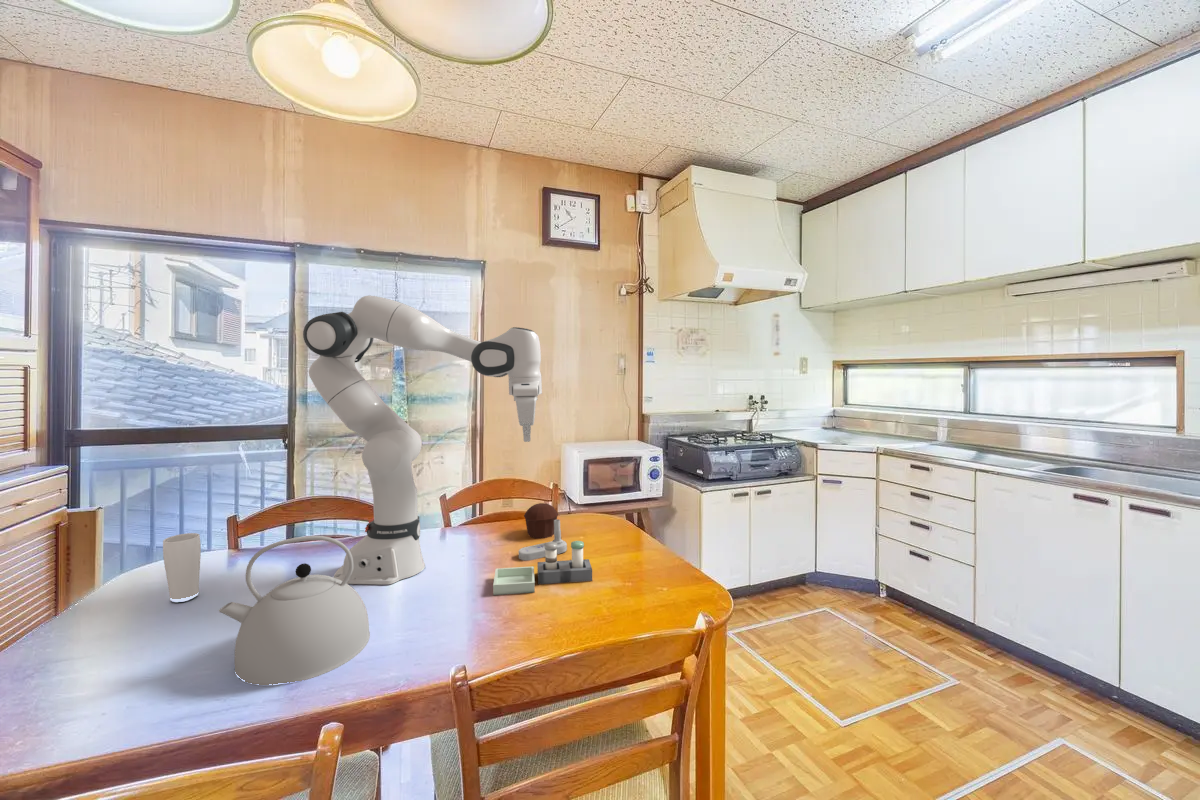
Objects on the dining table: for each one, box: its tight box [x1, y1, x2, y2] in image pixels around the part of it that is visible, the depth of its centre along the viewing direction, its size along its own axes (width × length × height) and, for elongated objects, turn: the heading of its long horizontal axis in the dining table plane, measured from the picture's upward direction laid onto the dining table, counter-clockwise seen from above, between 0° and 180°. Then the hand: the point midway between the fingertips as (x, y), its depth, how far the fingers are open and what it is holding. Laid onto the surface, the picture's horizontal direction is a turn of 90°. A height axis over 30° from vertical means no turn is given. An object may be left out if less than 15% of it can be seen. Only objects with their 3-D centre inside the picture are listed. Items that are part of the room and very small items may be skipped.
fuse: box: [570, 540, 585, 569], centre depth 129 cm, size 3×3×9 cm
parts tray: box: [492, 565, 536, 596], centre depth 123 cm, size 10×10×2 cm
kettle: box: [218, 535, 371, 685], centre depth 94 cm, size 25×23×22 cm
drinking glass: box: [162, 532, 202, 599], centre depth 115 cm, size 7×7×15 cm
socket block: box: [537, 558, 593, 585], centre depth 128 cm, size 14×7×3 cm, turn 99°
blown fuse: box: [544, 541, 558, 570], centre depth 128 cm, size 3×3×9 cm
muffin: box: [523, 502, 559, 539], centre depth 162 cm, size 12×11×10 cm
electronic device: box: [518, 518, 568, 562], centre depth 144 cm, size 5×10×15 cm
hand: (526, 438), depth 131 cm, fingers open, 8 cm apart
